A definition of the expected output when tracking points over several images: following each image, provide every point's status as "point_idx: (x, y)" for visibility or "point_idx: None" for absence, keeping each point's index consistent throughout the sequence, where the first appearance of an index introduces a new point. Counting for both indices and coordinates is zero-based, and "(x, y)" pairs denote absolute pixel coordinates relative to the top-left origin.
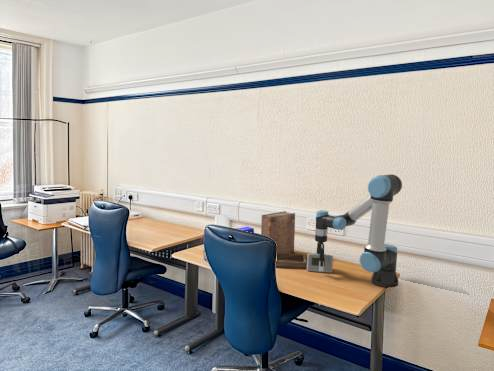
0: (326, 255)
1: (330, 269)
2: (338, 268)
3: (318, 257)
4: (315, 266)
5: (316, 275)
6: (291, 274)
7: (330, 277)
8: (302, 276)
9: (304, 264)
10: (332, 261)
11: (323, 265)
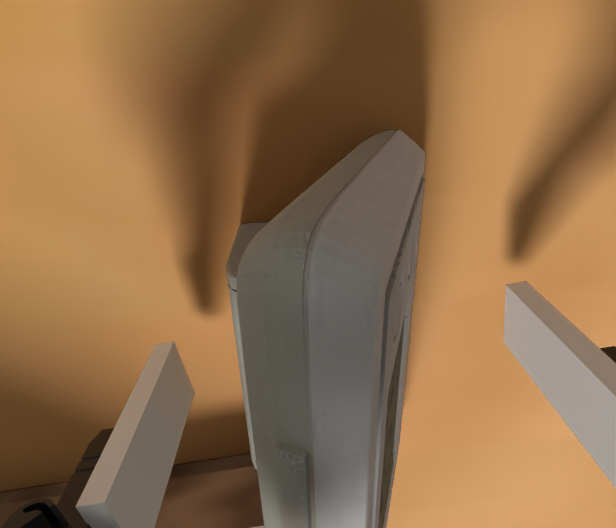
0: (365, 440)
1: (422, 171)
2: (75, 3)
3: (378, 522)
4: (399, 408)
5: None
6: (510, 524)
7: (598, 144)
8: (563, 447)
9: None
10: (373, 176)
11: (591, 343)
